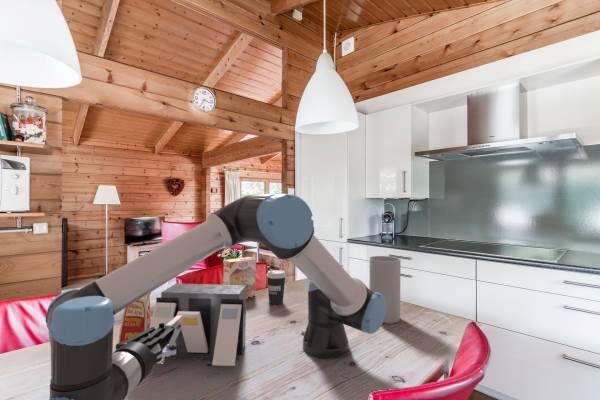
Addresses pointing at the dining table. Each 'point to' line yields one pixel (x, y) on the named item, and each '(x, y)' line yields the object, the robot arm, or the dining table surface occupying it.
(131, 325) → the milk carton
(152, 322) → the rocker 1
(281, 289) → the coffee cup
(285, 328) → the dining table surface
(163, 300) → the card holder crate
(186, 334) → the cream flat slab
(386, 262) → the cylinder vase
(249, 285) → the coffeecake box
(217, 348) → the cream flat slab
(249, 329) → the dining table surface
